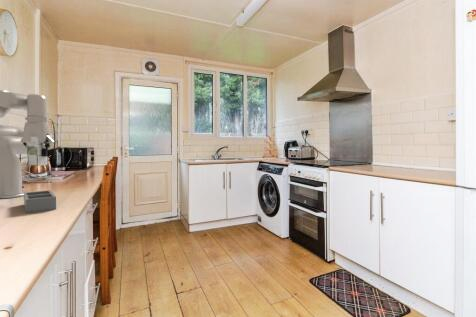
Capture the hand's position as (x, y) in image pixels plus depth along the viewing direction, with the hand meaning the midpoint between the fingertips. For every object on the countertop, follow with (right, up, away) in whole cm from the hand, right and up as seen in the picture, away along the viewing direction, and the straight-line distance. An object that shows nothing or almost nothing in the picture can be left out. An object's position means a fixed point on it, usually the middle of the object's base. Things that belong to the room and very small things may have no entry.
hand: (37, 155), depth 125 cm
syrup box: (0, -5, 0) cm, 5 cm away
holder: (+12, -23, -13) cm, 29 cm away
